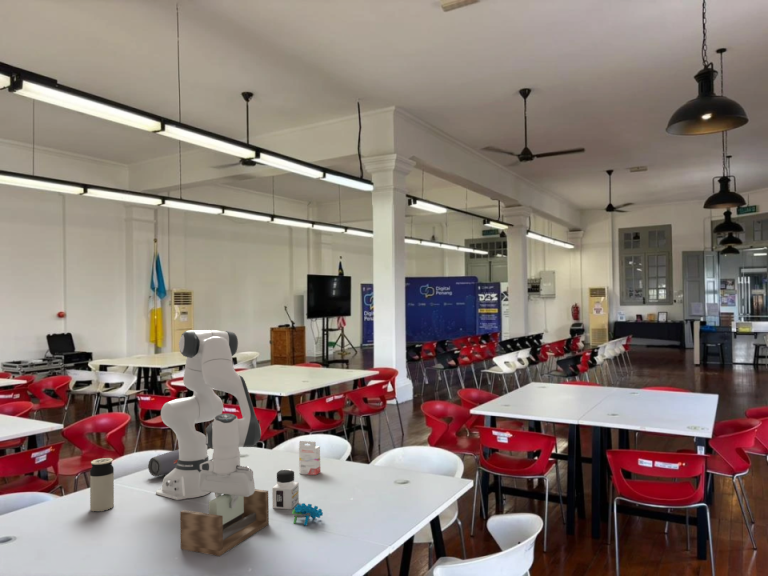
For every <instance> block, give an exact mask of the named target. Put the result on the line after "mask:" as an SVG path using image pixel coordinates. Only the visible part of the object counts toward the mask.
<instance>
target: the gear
mask: <svg viewBox="0 0 768 576" xmlns="http://www.w3.org/2000/svg"><path fill="white" fill-rule="evenodd" d="M291 514H292V515H293V517H294V519H293V524H297V519H299V518H300V519H302V518H305V519H304V524H303V525H304V526H308V523H309V522H308V521H309V518H310V517H311V519H313V520H314V519H317V518H318V519H320V518H321V516H323V514H324V513H323V509H321V508H319V506H318V505H314V506H313V504H311V503H308V504H307V505H306V503H305V502H303V503H301V504H300V503H297V504H296V506H294V509H293V508H292V512H291Z"/></svg>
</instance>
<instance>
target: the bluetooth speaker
mask: <svg viewBox="0 0 768 576" xmlns="http://www.w3.org/2000/svg"><path fill="white" fill-rule="evenodd" d="M178 459H179V449H176V450H171V451H168V452H165V453H161V454H159V455H156V456H154V457H151V458H150V459H149V461H148V465H147V467H148V468H147V469H148V471H149V473H150V475H151V476H152V477H159V476H163V475H165V476H166V475H167V474H169V473H170V472H171V471H172V470H173V469H175V468H176V464H177V463H174V462H176V461H175V460H178Z"/></svg>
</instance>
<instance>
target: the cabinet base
mask: <svg viewBox="0 0 768 576" xmlns="http://www.w3.org/2000/svg"><path fill="white" fill-rule="evenodd" d="M269 506H270V504H269V490H264V489H256V488H255V492H254V493H253V494H252V495H250V496H248V497H244V513H242V514H241V515H239V516H237V517H236V518H234V519H232V520H230V521H229V522H227V523H225V524H223V516H220V515H214V514H209V513H205V512H200V511H193V510H187V509H183V510H181V511H180V513H179V515H180V516H179V517H180V523H179V524H180V527H179V528H180V550H184V551H188V552H189V551H190V552H195V553H200V554H206V555H212V556H216V557H221V556H222V555H223V554H226V553H227V552H228V551H230V550H231V549H233V548H234V547H236V546H238V545H239V544H241V543H242V542H243V541H246V540H247V539H248V538H250V537H252V536H253V535H254V534H257V533H258V532H259V531H260V530H262V529H264V528H266V527H267V526H268V525H269V524H270V519H269V516H270V515H269V514H270V513H269V511H270V510H269Z"/></svg>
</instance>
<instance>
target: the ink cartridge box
mask: <svg viewBox="0 0 768 576" xmlns="http://www.w3.org/2000/svg"><path fill="white" fill-rule="evenodd" d="M298 444H299V445H298V447H299V448H298V457H299V461H298V463H299V464H298V465H299V467H298V469H299V475H312V476H317V475H318V474H320V473H321V446H320V445H316V441H308V440H304V441H303V440H302V441H301V440H299V443H298ZM307 444H308V445H307Z"/></svg>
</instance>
